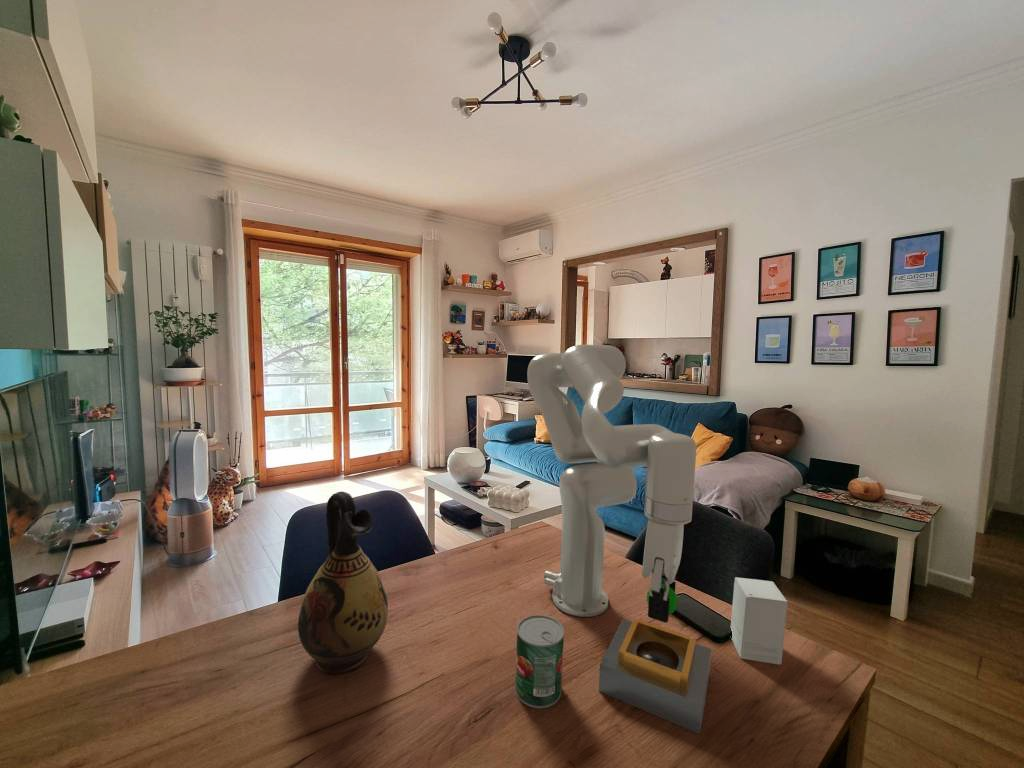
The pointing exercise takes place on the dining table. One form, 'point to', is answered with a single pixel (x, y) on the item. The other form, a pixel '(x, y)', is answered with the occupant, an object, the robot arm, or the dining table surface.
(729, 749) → the dining table surface
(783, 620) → the supplement box
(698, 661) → the grey yellow socket base
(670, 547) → the robot arm
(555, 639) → the canned tomato
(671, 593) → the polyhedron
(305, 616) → the ceramic jug
